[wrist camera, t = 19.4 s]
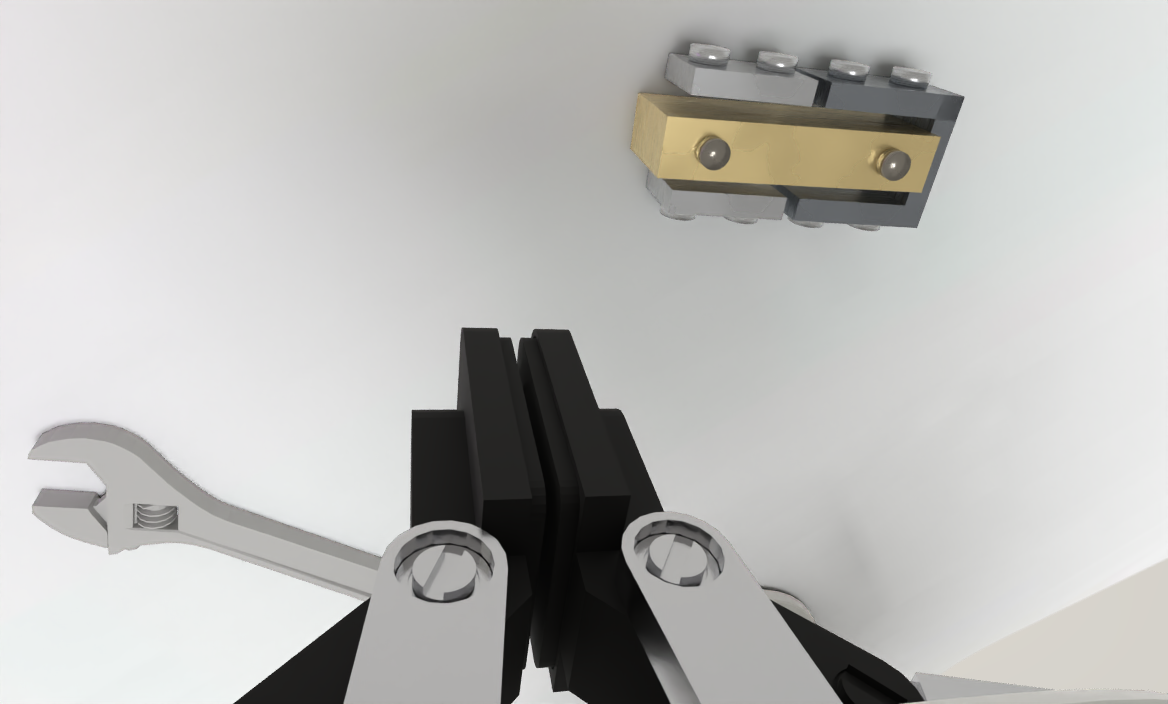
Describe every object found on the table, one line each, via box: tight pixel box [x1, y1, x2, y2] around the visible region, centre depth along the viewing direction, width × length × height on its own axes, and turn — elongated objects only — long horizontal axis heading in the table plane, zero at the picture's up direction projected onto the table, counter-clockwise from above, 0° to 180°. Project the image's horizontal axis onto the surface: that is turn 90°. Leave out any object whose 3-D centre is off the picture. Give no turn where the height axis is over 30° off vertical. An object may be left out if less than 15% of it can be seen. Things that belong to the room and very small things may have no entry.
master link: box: [630, 93, 941, 193], centre depth 32 cm, size 2×12×5 cm, turn 83°
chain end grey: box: [646, 43, 819, 224], centre depth 32 cm, size 7×5×4 cm
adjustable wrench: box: [28, 423, 381, 601], centre depth 40 cm, size 25×6×2 cm, turn 47°
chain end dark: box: [770, 59, 964, 231], centre depth 33 cm, size 7×6×4 cm
